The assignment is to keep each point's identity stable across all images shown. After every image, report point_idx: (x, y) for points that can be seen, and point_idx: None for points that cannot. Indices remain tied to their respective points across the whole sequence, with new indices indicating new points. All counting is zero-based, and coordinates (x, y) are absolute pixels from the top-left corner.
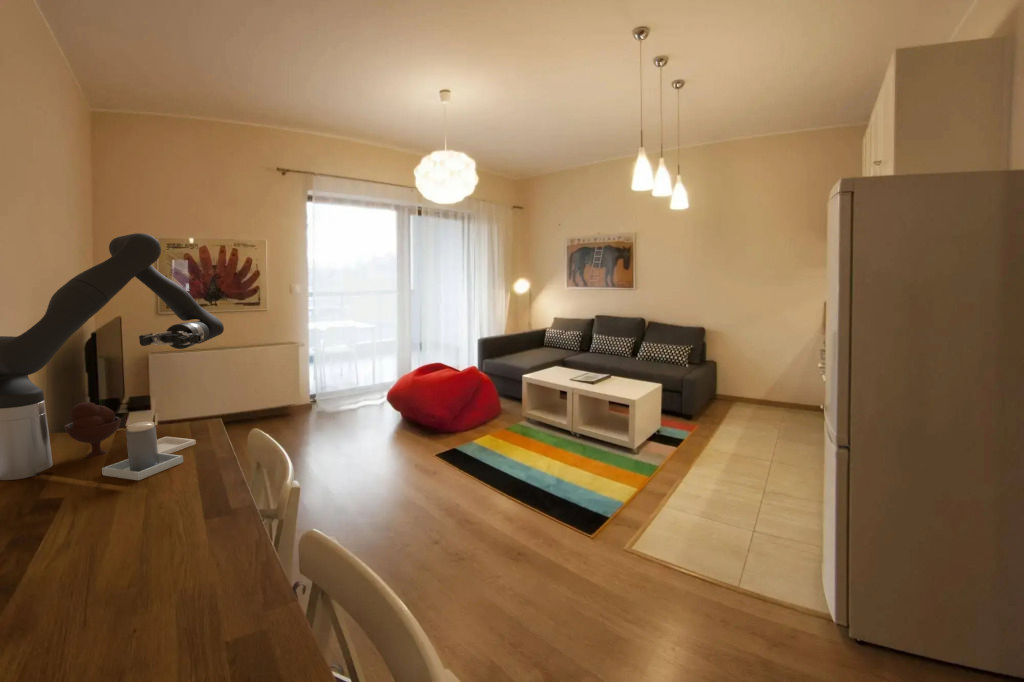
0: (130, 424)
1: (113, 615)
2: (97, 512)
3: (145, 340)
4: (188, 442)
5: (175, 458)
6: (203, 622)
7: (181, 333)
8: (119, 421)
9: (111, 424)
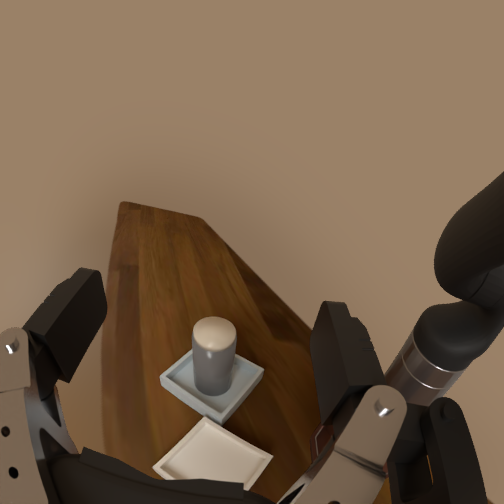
0: (234, 338)
1: (176, 224)
2: (222, 300)
3: (322, 329)
4: (163, 457)
5: (168, 369)
6: (145, 215)
7: (29, 417)
8: (312, 458)
9: (313, 433)
